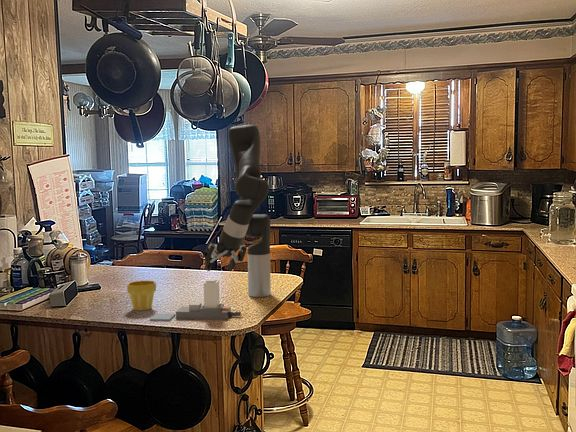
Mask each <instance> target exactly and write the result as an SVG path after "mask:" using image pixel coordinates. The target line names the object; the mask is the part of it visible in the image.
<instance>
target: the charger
mask: <svg viewBox="0 0 576 432" xmlns="http://www.w3.org/2000/svg"><path fill="white" fill-rule="evenodd" d="M203 304H204V308H219V307H220V304H221V303H220V280H218V278H207V279H206V280H205V281H204V282H203Z"/></svg>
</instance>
